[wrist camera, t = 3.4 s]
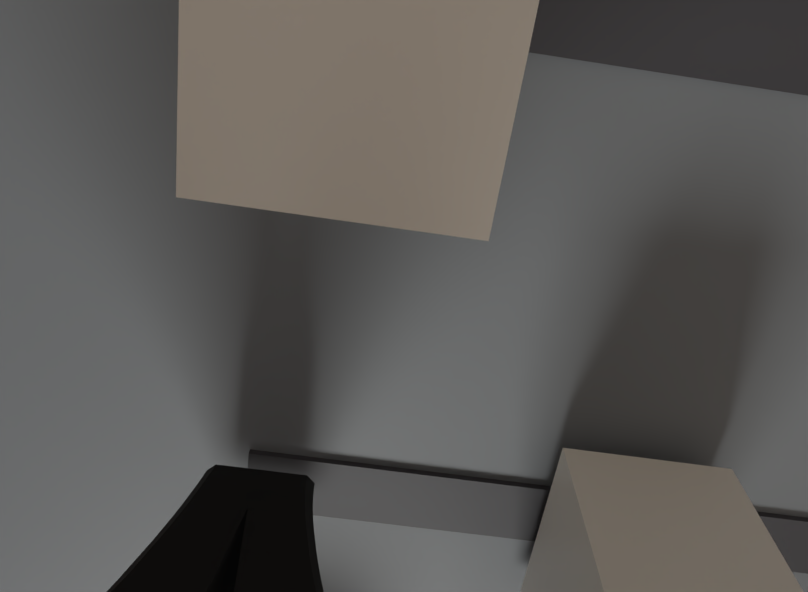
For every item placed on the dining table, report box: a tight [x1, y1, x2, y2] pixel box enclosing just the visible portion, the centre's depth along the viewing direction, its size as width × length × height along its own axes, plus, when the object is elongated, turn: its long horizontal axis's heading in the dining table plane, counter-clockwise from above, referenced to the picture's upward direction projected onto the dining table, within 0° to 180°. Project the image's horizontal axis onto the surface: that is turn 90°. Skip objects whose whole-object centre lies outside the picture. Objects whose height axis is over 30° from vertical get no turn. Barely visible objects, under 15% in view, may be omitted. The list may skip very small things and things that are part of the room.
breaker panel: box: [0, 0, 808, 592], centre depth 12 cm, size 17×22×1 cm
